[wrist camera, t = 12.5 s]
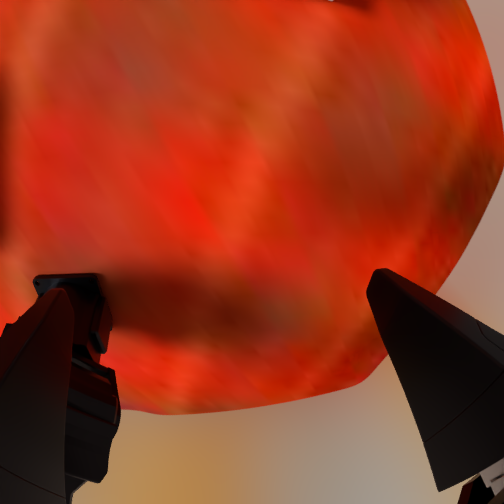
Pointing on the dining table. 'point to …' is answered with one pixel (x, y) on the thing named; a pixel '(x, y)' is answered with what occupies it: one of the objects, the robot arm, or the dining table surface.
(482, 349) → the robot arm
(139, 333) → the dining table surface
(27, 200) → the dining table surface
